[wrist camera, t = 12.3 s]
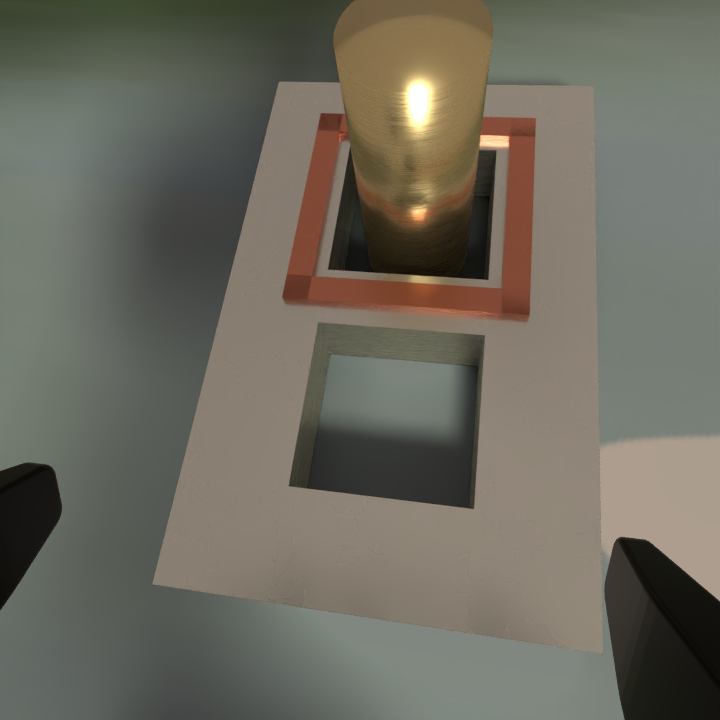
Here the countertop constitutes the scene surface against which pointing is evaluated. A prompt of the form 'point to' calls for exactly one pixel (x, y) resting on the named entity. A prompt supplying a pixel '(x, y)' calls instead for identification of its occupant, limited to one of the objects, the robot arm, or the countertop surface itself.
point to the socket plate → (418, 343)
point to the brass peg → (415, 125)
